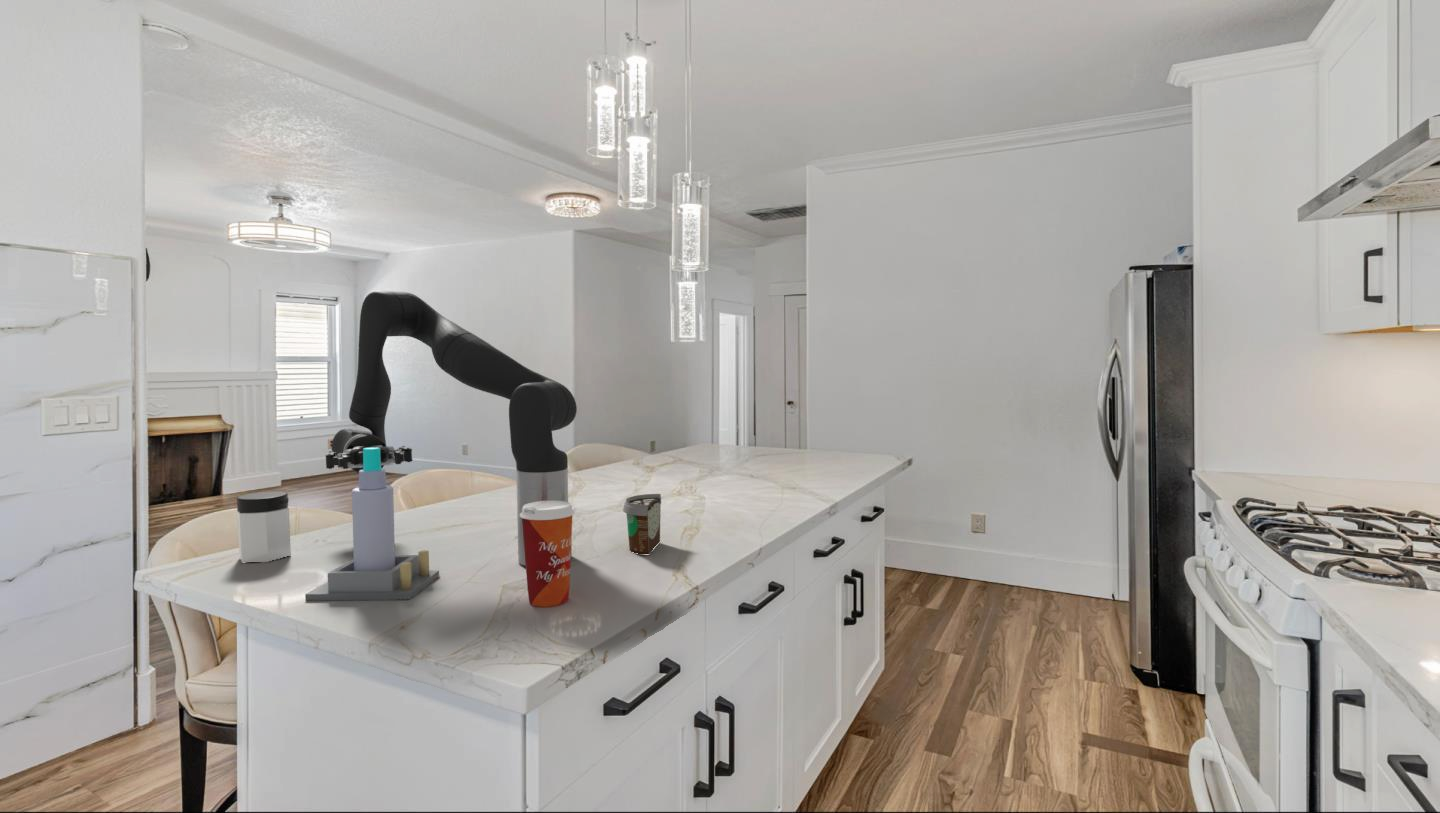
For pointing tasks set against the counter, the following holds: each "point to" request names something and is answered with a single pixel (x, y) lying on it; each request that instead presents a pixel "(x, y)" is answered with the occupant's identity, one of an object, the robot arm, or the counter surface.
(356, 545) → the spray bottle
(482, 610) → the counter surface
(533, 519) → the coffee cup
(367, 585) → the dock
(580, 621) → the counter surface
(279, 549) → the jar
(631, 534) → the food container
